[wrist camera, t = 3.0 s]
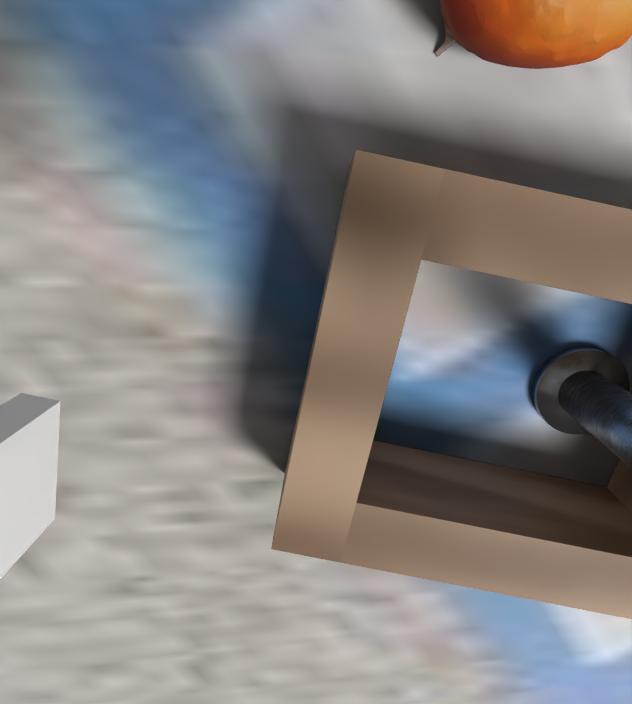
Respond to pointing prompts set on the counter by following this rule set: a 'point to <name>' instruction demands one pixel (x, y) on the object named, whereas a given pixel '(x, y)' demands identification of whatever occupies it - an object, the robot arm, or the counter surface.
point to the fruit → (537, 30)
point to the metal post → (587, 398)
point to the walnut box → (433, 468)
